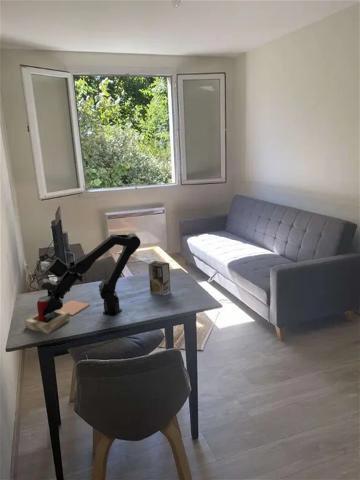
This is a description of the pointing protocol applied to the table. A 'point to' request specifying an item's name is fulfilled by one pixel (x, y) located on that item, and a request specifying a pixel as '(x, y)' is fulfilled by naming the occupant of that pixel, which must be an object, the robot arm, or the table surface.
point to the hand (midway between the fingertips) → (42, 310)
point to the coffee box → (159, 277)
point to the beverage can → (41, 306)
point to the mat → (73, 307)
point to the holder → (50, 326)
